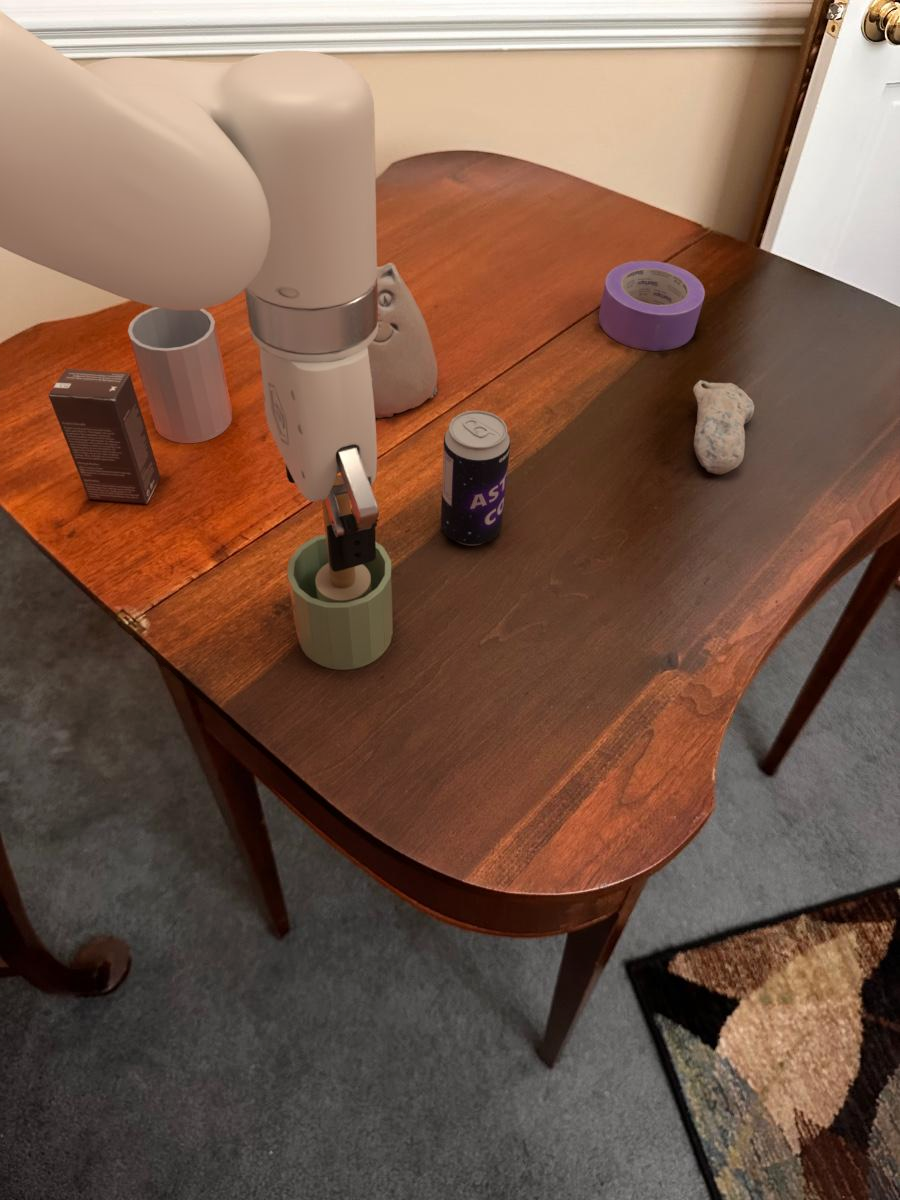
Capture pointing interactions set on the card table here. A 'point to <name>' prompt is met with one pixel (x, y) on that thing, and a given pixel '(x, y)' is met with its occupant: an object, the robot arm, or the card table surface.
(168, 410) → the steel cup
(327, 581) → the bottle brush
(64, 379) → the box
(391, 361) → the sculpture
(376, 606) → the brush holder
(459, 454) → the beverage can
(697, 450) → the decorative stone
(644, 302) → the tape roll
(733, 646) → the card table surface
